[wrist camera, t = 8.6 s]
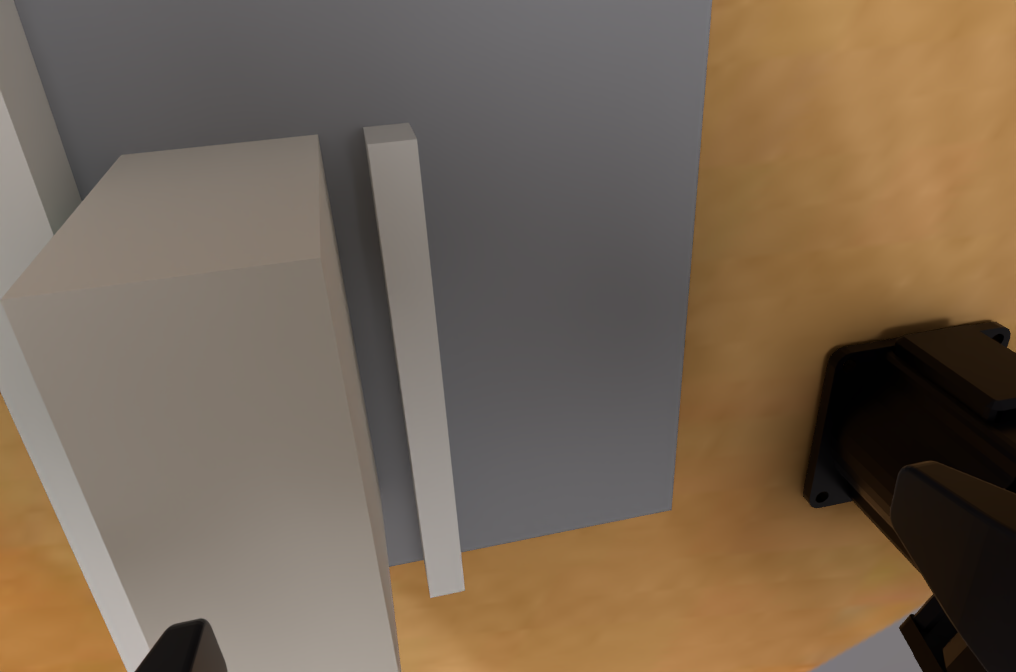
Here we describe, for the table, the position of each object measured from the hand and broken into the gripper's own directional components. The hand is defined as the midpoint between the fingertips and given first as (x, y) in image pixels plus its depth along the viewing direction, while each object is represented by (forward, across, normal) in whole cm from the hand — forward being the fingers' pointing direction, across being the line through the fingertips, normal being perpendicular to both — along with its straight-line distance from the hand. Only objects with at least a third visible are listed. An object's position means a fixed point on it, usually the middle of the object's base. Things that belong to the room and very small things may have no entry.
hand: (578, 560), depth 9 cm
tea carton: (+10, +5, +2) cm, 11 cm away
